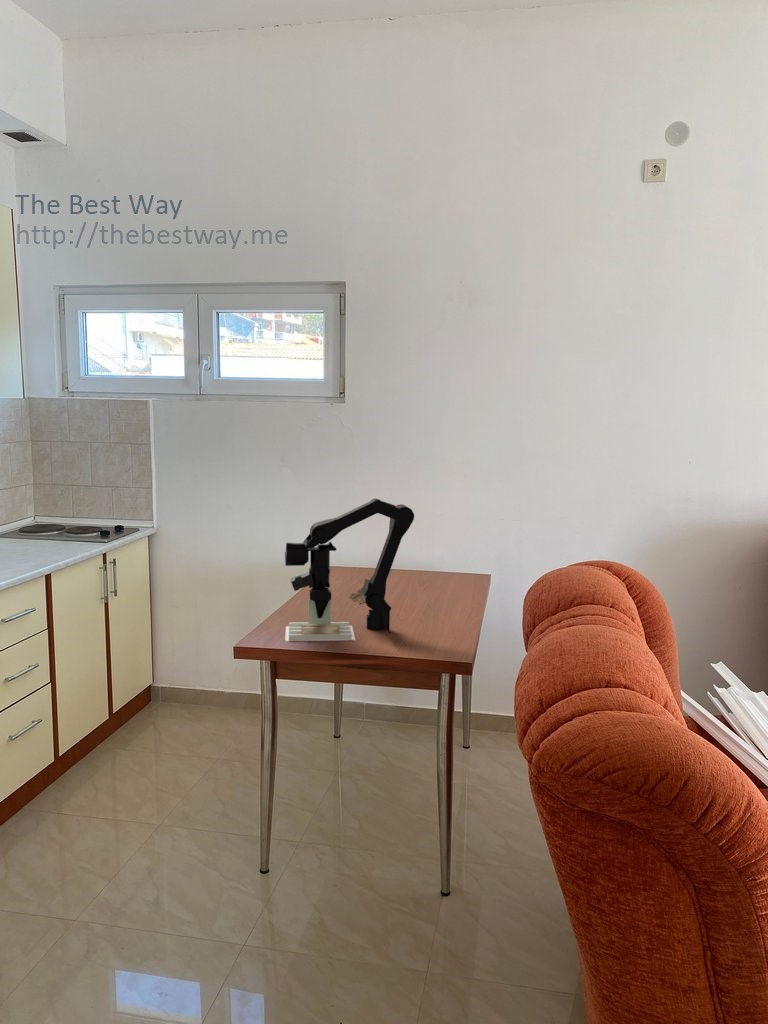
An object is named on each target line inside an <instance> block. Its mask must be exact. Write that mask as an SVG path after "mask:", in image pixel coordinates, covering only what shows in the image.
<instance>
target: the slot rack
mask: <svg viewBox="0 0 768 1024" xmlns="http://www.w3.org/2000/svg"><path fill="white" fill-rule="evenodd" d="M330 624H339V634H301V625H308V622H307V621H306V622H305V621H304V622H303V621H302V622H301V621H300V622H297V621H296V622H295V621H293V622H288V625H286V626H285V635H284V636H285V637H284V638H285V639H284V640H285V641H284V642H306V641H307V642H312V641H313V642H317V641H320V642H321V641H323V642H324V641H325V642H327V641H333V642H334V641H356V637H355V633H354V628H353V625H350V622H349V621H330Z"/></svg>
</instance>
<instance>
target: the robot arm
mask: <svg viewBox="0 0 768 1024" xmlns="http://www.w3.org/2000/svg"><path fill="white" fill-rule="evenodd" d="M414 513H415V512H414V511H413V509H411V508H410V507H409V506H407V505H405V504H397V505H395V504H392V503H389V502H387V501H383V500H381V499H378V498H373V499H371V500H370V501H368V502H366V503H364V504H361V505H360V506H357V507H355V508H353V509H351V510H349V511H348V512H345V513H343V514H340V515H338V516H337V517H333V518H328V519H324V520H321V521H317V522H314V523H313V524H312V525H311V527H310V529H309V534H308V536H306V538H305V539H304V540H303V542H296V543H295V542H294V543H293V542H286V543H285V551H284V566H285V567H296V566H297V567H298V566H299V567H301V566H302V567H303V566H305V565H306V564H307V563H309V560H310V566H309V567H310V568H308V572H306V573H302V574H299V575H295V576H293V577H291V578H290V583H291V587H292V588H293V590H294V592H296V591H297V592H298V591H299V590H301V589H303V588H307V587H308V588H309V598H310V600H313V601H314V602H315V606H316V611H317V616H318V618H322V616H323V613H324V611H325V609H326V606H327V604H328V602H329V600H332V590H331V589H330V588H331V587H330V585H331V583H330V577H331V576H330V574H331V569H330V568H331V566H330V564H331V563H330V562H331V561H330V558H331V557H330V555H331V553H330V552H332V551H334V552H335V551H337V547H336V546H335V545H333V542H331V540H332V539H334V538H335V537H336V536H337V535H339V533H341V532H342V531H344V530H346V529H347V528H348V529H349V528H350V527H352V526H354V525H356V524H358V523H360V522H362V521H364V520H366V519H368V518H370V517H373V516H374V515H376V514H379V515H382V516H385V517H387V518H389V526H388V533H387V536H386V539H385V542H384V544H383V547H382V550H381V553H380V555H379V558H378V560H377V561H378V562H377V563H376V568H375V570H374V573H373V575H372V576H371V577H370V579H368V578H365V579H364V581H363V586H362V587H361V588H362V589H361V591H362V598H363V600H364V602H363V603H365V605H366V606H367V607H368V608H369V609H368V611H367V612H368V613H367V614H366V615H365V618H366V621H365V623H366V624H365V627H366V630H373V631H386V630H387V633H388V634H391V629H390V628H391V627H390V619H391V615H390V614H391V609H392V607H391V605H390V604H389V603H388V602H387V600H385V599H386V591H387V579H388V577H389V574H390V571H391V569H392V566H393V563H394V562H395V561H394V560H395V558H396V555H397V553H398V550H399V547H400V544H401V542H402V538H403V537H404V536H405V534H406V533H407V532H408V530H409V529H410V527H411V526H412V524H413V522H414V520H415V514H414ZM326 543H327V544H326ZM309 553H310V557H309ZM309 558H310V559H309Z"/></svg>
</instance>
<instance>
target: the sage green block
mask: <svg viewBox="0 0 768 1024" xmlns="http://www.w3.org/2000/svg"><path fill="white" fill-rule="evenodd" d="M331 600H332V599H331ZM331 600H329V602H328V604H327V606H326V609H325V611H324V613H323V616H322V618H318V616H317V611H316V606H315V602H314V601H313V600H310V597H308V611H307V613H308V615H307V616H308V620H307V621H308V625H309V624H330V622H332V621H331V613H332V612H331V609H332V606H331V605H332V604H331V603H332V601H331Z"/></svg>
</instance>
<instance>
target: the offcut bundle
mask: <svg viewBox="0 0 768 1024" xmlns="http://www.w3.org/2000/svg"><path fill="white" fill-rule="evenodd" d="M301 634H339V624H309V625H301Z"/></svg>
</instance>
